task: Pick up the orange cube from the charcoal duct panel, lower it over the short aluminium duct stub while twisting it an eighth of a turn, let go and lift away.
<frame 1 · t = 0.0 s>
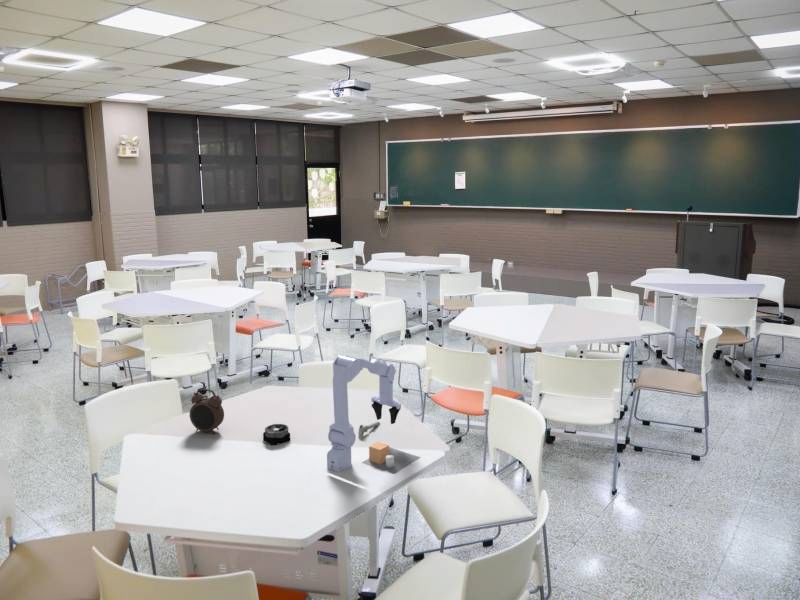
hand: (386, 421, 261), 10 cm above the table, fingers open, 7 cm apart
orange cube: (379, 459, 245), point 1 cm above the table, touching duct panel
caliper: (369, 432, 276), on the table
cpu cooler: (276, 440, 266), on the table
duct panel: (391, 462, 245), on the table
alarm clock: (207, 432, 274), on the table
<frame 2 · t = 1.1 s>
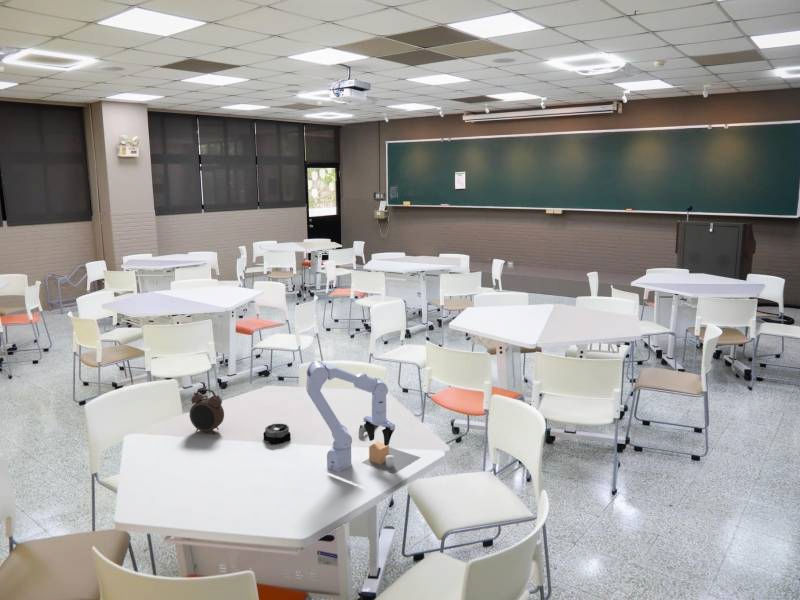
hand: (379, 442, 243), 8 cm above the table, fingers open, 7 cm apart
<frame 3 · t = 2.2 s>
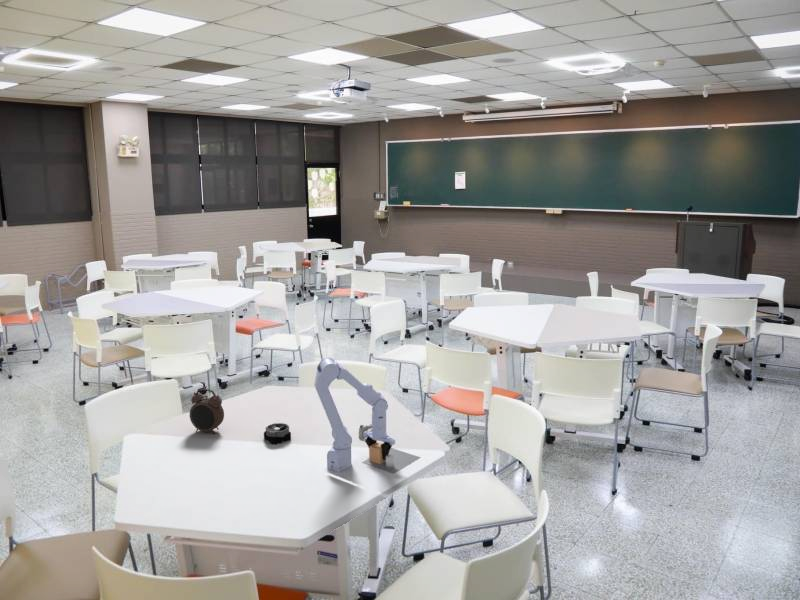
hand: (379, 457, 245), 2 cm above the table, fingers closed on orange cube, 6 cm apart
orange cube: (379, 459, 245), point 1 cm above the table, touching duct panel, gripper
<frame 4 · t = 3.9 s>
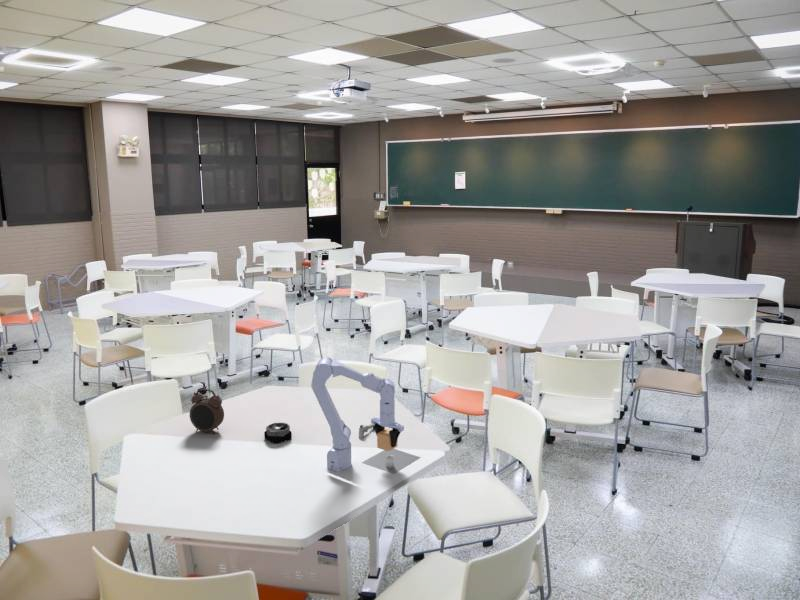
hand: (387, 444, 239), 9 cm above the table, fingers closed on orange cube, 6 cm apart
orange cube: (387, 447, 239), point 8 cm above the table, touching gripper
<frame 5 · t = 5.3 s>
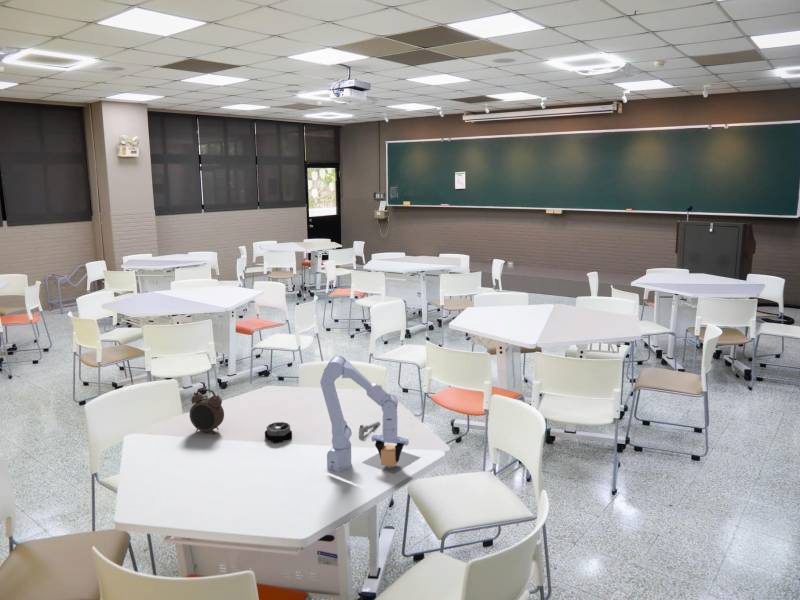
hand: (389, 459, 239), 4 cm above the table, fingers closed on orange cube, 6 cm apart
orange cube: (389, 462, 239), point 3 cm above the table, touching gripper
when the fingers open (3 cm above the table, at t = 6.1 s): orange cube stays where it is, resting on duct panel.
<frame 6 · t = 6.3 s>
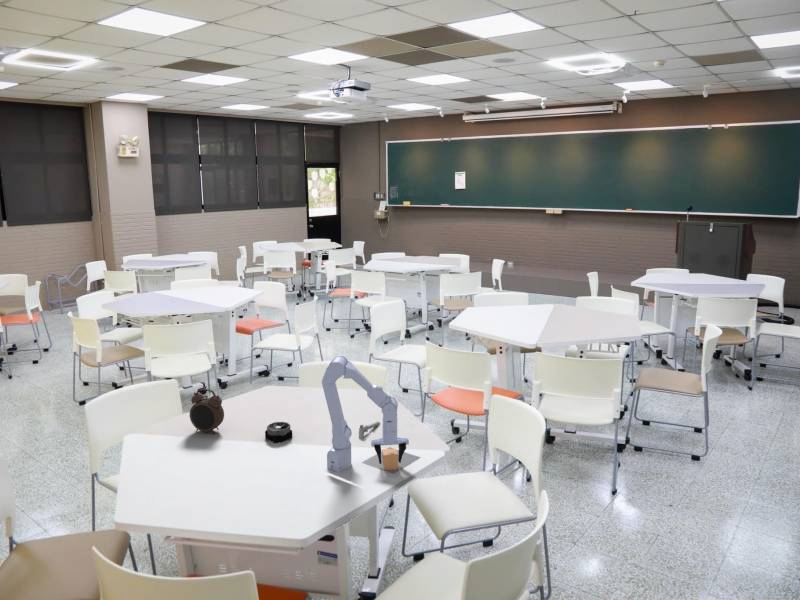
hand: (389, 462, 239), 3 cm above the table, fingers open, 7 cm apart
orange cube: (389, 466, 239), point 1 cm above the table, touching duct panel
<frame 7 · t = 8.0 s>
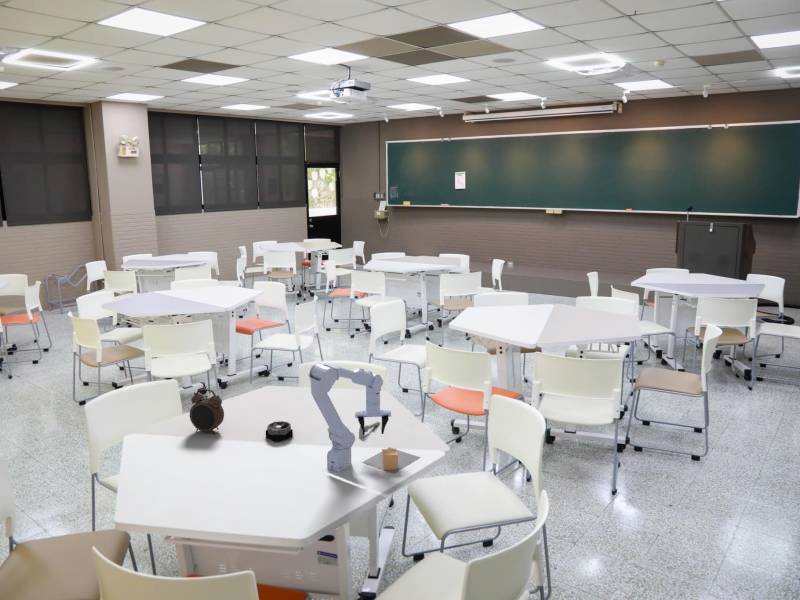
hand: (373, 433, 250), 9 cm above the table, fingers open, 7 cm apart
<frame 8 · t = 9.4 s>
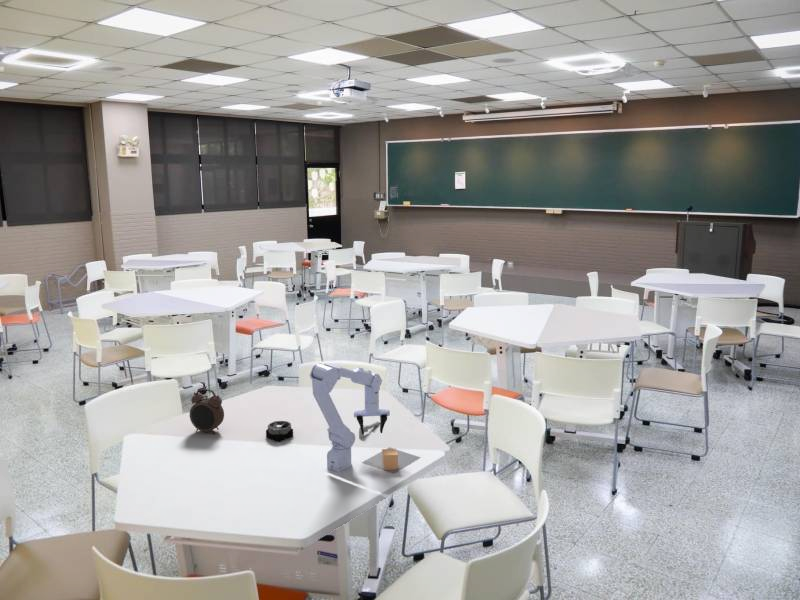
hand: (371, 432, 250), 9 cm above the table, fingers open, 7 cm apart
at the end: orange cube 0.1 cm from the target spot on the duct panel, point 1.0 cm above the duct panel's base; orange cube tilted 0°; the gripper is holding nothing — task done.
